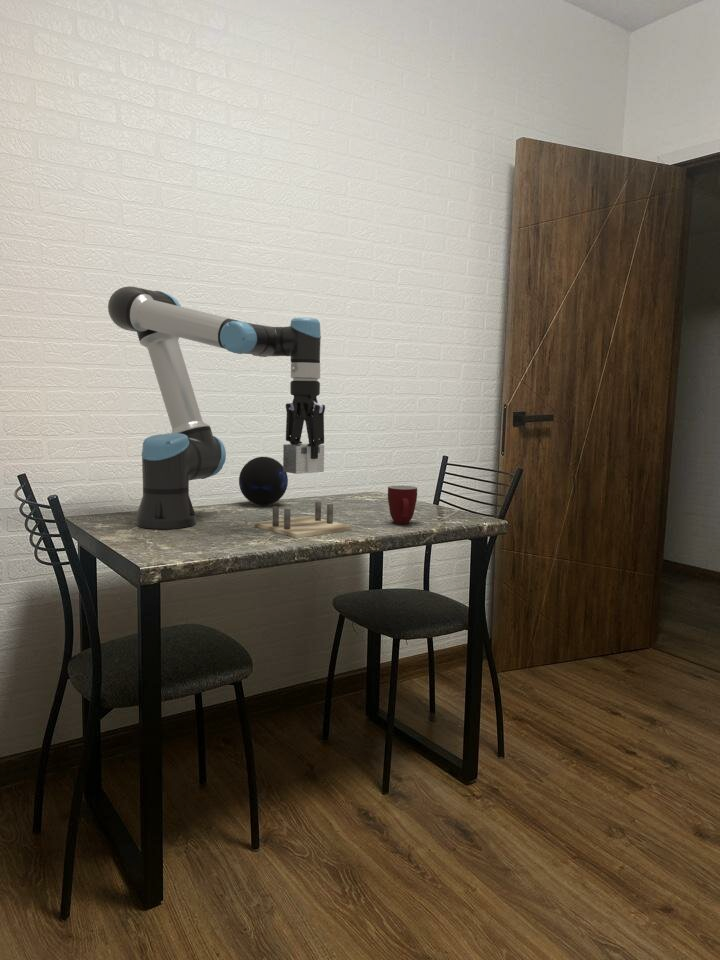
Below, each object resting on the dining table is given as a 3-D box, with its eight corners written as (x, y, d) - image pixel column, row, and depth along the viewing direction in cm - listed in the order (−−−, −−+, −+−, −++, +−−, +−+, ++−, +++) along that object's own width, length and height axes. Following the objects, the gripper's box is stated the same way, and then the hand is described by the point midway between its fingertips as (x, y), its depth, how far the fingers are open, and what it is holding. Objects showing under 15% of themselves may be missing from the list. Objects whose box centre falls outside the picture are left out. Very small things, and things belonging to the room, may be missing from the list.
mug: (423, 527, 197) (424, 490, 195) (394, 528, 195) (395, 490, 193) (410, 520, 207) (411, 485, 205) (383, 521, 205) (384, 485, 203)
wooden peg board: (254, 526, 192) (254, 503, 191) (308, 519, 204) (309, 498, 203) (296, 538, 179) (296, 513, 178) (351, 529, 191) (352, 507, 190)
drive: (283, 471, 188) (283, 444, 188) (310, 469, 194) (311, 443, 194) (296, 473, 184) (296, 446, 183) (323, 471, 190) (324, 445, 189)
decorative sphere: (288, 509, 221) (289, 459, 219) (238, 508, 219) (238, 459, 217) (286, 501, 236) (287, 454, 234) (239, 501, 234) (239, 454, 232)
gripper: (271, 379, 191) (271, 467, 194) (316, 379, 177) (315, 474, 180) (294, 380, 196) (294, 466, 199) (340, 380, 182) (338, 473, 185)
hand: (304, 470), depth 189 cm, fingers closed on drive, 6 cm apart
